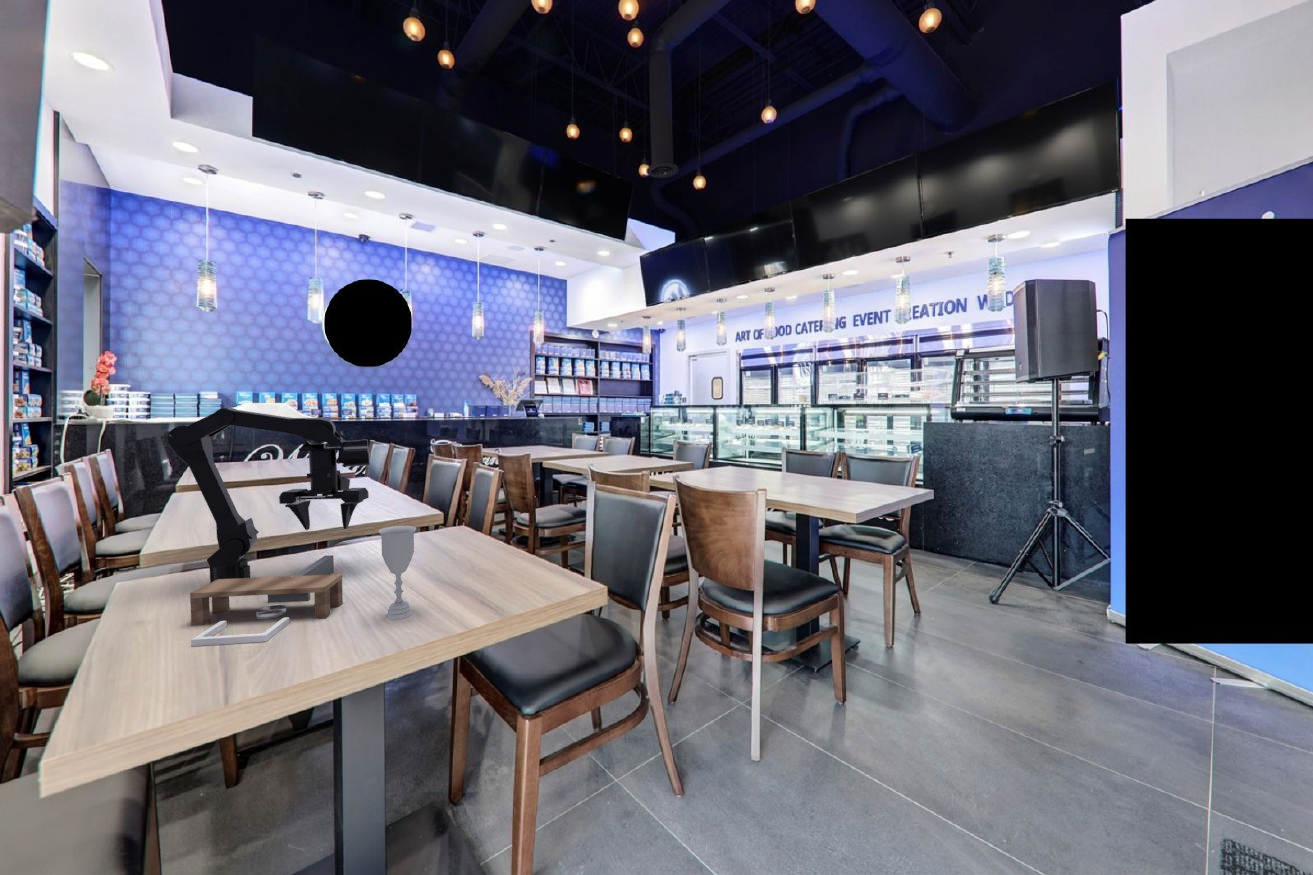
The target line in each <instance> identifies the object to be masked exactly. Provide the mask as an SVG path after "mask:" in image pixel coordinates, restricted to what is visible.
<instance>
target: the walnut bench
mask: <svg viewBox="0 0 1313 875" xmlns="http://www.w3.org/2000/svg"><path fill="white" fill-rule="evenodd" d="M293 593H310V594H311V593H314V595H313V596H314V618H315V619H317V620H320V619H327V618H328V617H329V616H330V615H331V608H339V607H341V605H342V604H343V603H344V601H343V594H344V593H343V574H342V573H341V574H340V573H339V574H337V573H336V574H335V573H334V574H331V575H311V576H294V575H291V576H290V575H289V576H288V575H287V576H267V577H266V576H265V577H263V576H262V577H250V578H237V579H217V580H215V581H213V582H211V583H210V582H209V583H207V584H205V585H204V586H202V587H200V588H197V589H195V590H194V591H192V592H190V593H189V600H190V601H189V602H190V618H191V619H190V620H191V621H190V624H191V626H192V627H193V626H204V625H205V624H207V623H209V622H210V621H211V614H220V613H221V614H223V613H225V612H226V611H228V610H230V609H231V608H230V597H245V596H246V597H247V596H266V595H267V596H268V595H271V594H293ZM210 598H211V607H210ZM210 609H211V610H210ZM211 612H212V613H211Z"/></svg>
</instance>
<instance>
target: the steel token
mask: <svg viewBox="0 0 1313 875" xmlns="http://www.w3.org/2000/svg"><path fill="white" fill-rule="evenodd" d="M286 613H287V606H286V605H285V604H275V605H274V604H273V605H269V606H268V605H267V606H266V607H262V608H260V609H258V610H256V612H255V618H256V619H259V620H266V619H267V620H268V619H272V618H278V617H280V616H282V615H284V614H286Z"/></svg>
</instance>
